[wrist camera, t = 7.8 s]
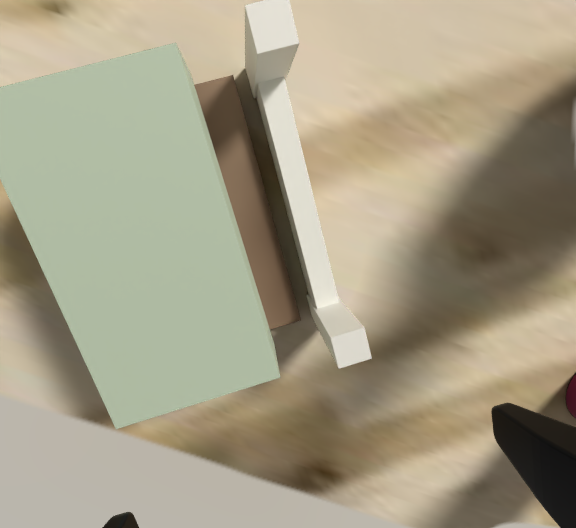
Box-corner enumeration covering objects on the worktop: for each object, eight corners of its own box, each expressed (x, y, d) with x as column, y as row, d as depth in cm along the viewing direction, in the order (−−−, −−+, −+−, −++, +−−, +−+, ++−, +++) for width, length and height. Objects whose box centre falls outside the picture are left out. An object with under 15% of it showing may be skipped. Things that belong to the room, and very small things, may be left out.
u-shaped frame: (273, 59, 17) (288, -6, 12) (336, 310, 21) (371, 358, 15) (245, 67, 17) (244, 5, 11) (312, 317, 21) (338, 368, 15)
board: (274, 343, 16) (280, 377, 13) (139, 385, 16) (115, 429, 13) (190, 74, 13) (175, 42, 11) (25, 117, 13) (-38, 96, 10)
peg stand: (233, 81, 17) (230, 50, 13) (298, 314, 20) (310, 343, 17) (35, 132, 17) (-29, 114, 13) (132, 363, 20) (104, 406, 16)
